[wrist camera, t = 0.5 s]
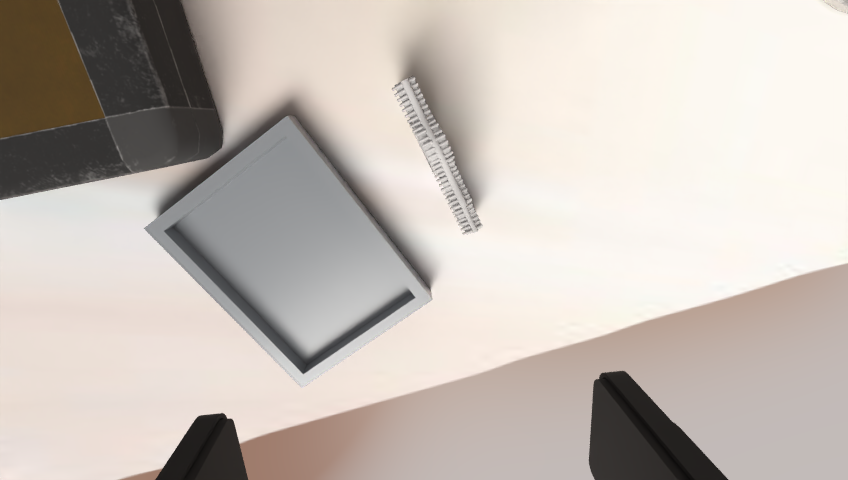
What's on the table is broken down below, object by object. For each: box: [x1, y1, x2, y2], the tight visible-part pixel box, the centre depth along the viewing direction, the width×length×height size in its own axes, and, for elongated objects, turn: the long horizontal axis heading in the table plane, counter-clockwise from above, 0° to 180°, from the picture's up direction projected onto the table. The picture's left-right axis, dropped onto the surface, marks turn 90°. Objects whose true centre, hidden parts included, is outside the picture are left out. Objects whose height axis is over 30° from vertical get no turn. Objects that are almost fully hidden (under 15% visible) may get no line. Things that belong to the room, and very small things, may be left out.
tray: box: [144, 116, 432, 388], centre depth 33 cm, size 14×18×2 cm
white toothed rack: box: [392, 76, 483, 235], centre depth 29 cm, size 12×2×6 cm, turn 27°
